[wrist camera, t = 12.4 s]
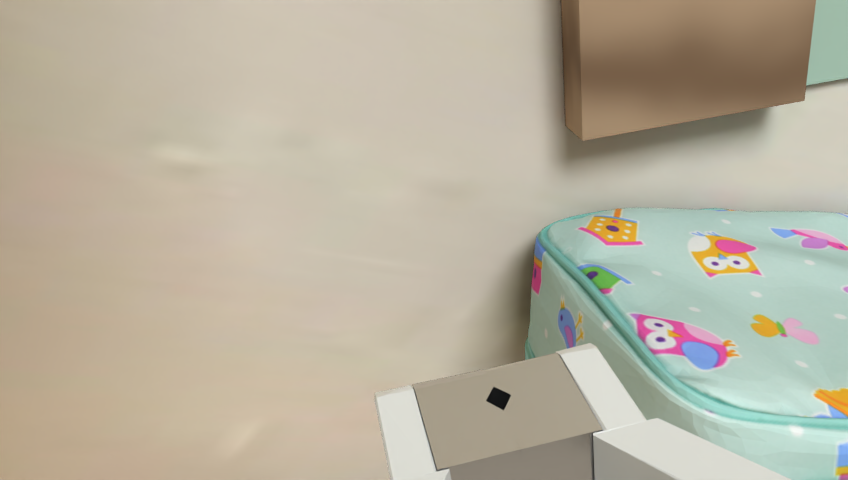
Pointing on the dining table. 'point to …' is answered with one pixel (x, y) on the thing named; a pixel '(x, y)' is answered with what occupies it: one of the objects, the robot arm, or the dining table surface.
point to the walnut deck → (679, 60)
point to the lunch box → (711, 323)
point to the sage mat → (829, 42)
